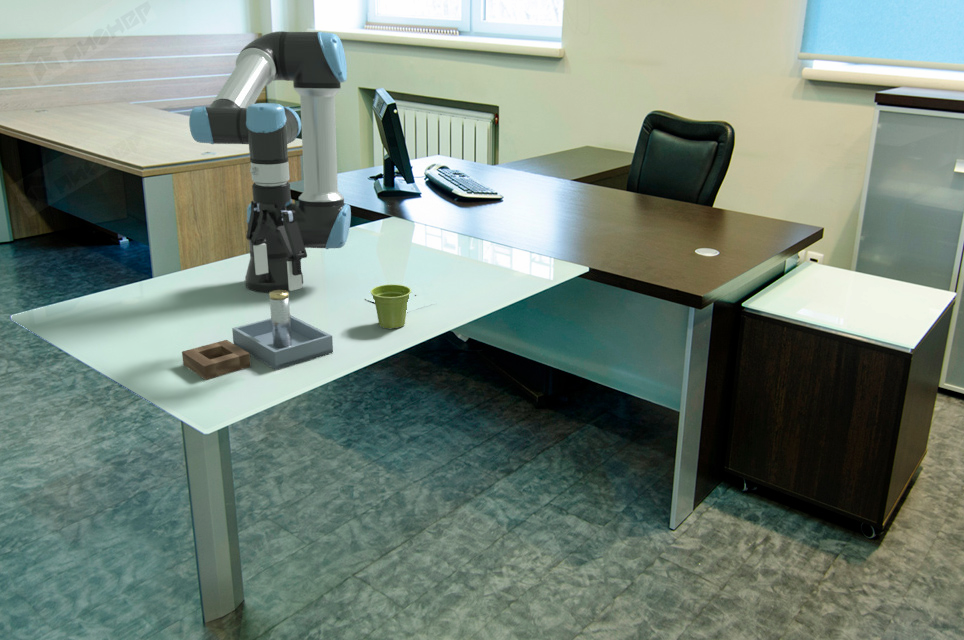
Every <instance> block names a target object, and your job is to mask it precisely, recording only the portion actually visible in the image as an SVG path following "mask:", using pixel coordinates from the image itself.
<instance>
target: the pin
mask: <svg viewBox="0 0 964 640" xmlns="http://www.w3.org/2000/svg"><path fill="white" fill-rule="evenodd" d="M268 295H269V296H268V297H269V305H270V306H269V307H270V318H271V322H272V335H273V346H274V347H276V348H286V347H289V346H291V345H292V337H291V322H290V315H291V311H290V310H291V309H290V297H289V296H290V295H289V290H288V291H286V290H274V291H271V292H268Z"/></svg>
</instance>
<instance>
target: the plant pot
mask: <svg viewBox="0 0 964 640" xmlns="http://www.w3.org/2000/svg"><path fill="white" fill-rule="evenodd" d="M410 293H412V289H411V288H410V287H408V286H406V285H403V284H392V283H391V284H382V285H379V286H374V287H373V288H372V289H371V290H370V294H371V296H373V299H374V300H375V304H374V305H375V309H376V315H377V316H376V317H377V320H378V321H377V322H378V325H379V326H380V328H382V327H384V328H383V329H385V328H393V329H398V328H397V327H401V326H403V325H404V324H406V319H407V318H406V316H407V313H406V310H407V302H408V299H409V294H410ZM404 326H405V325H404ZM404 326H403V327H404ZM401 328H402V327H401Z"/></svg>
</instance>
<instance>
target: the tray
mask: <svg viewBox="0 0 964 640" xmlns="http://www.w3.org/2000/svg"><path fill="white" fill-rule="evenodd" d="M290 322H291V337H292V345H291V346H289V347H286V348H276V347H274V346H273V335H272V322H271V317H270V318H267V319H263V320H258V321H256V322H251V323H247V324H244V325H240V326H236V327H231V329H232V330H231V331H232V340H233V342H232V343H233V344H235V345H236V346H238V347H240V348H241V349H243V350H245V351H246V352H248V353H250V357H253V358H255V359H256V360H258V361H260V362H261V363H263V364H265V365H267V366H268V367H270V368H272V369H274V370H275V371H278V370H281V369H284V368H285V369H286V368H288V367H291V366H294V365H297V364H300V363H305V362H308V361H311V360H314V359H317V358H316V357H318V358H321V357H324V356H326V355H325V354H327V355H330V354H329V353H331V354H333V353H334V346H333V344H334V343H333V341H334V340H333V335H332V334H329V333H328V332H325V331H324V330H322V329H321V328H318V327H315V326H314V325H311V324H310V323H308V322H305V321H303V320H301V319H299V318H297V317H296V316H294V315H291V314H290ZM332 352H333V353H332ZM323 355H324V356H323ZM320 356H321V357H320Z"/></svg>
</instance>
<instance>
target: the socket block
mask: <svg viewBox="0 0 964 640" xmlns="http://www.w3.org/2000/svg"><path fill="white" fill-rule="evenodd" d="M181 354H182V355H181V357H182V364H183V366H184V367H186V368H187V369H189V370H190V371H192V372H193V373H194V374H196V375H197V376H199V377H200V378H201V379H203V380H205V381H207V380H210V379H214V378H217V377H221V376H224V375H228V374H231V373H235V372H238V371H241V370H244V369H248V368H251V367H252V365H251V363H252V362H251V355H250V353H248V352H246V351H245V350H243V349H241V348H240V347H238V346H236V345H235V344H234V342H231V341H229V340H228V339H224V340H221V341H220V340H219V341H217V342H213V343H210V344H206V345H201V346H199V347H194V348H190V349H187V350H183V351H181Z"/></svg>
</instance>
